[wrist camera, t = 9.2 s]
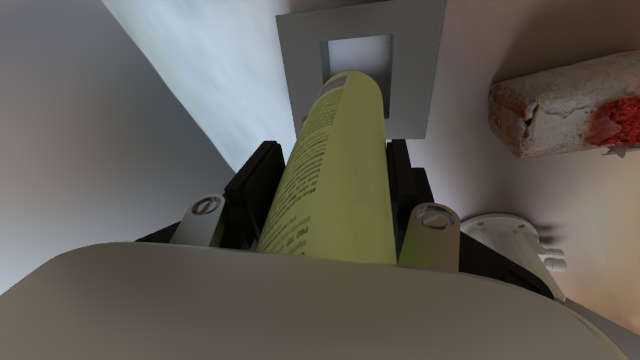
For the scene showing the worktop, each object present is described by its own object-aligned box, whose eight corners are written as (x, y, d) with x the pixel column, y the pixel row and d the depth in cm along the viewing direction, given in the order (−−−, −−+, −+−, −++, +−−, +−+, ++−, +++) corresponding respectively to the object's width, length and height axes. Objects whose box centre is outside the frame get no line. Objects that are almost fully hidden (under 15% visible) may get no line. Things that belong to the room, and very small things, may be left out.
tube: (383, 137, 20) (408, 600, 4) (324, 141, 21) (178, 511, 6) (382, 63, 17) (453, 759, 1) (313, 72, 18) (-84, 481, 3)
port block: (435, -5, 24) (448, -8, 19) (418, 121, 31) (425, 140, 27) (290, 14, 27) (273, 15, 22) (306, 124, 34) (296, 141, 30)
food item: (657, 33, 22) (811, 47, 14) (628, 113, 26) (736, 159, 19) (487, 76, 27) (533, 105, 19) (484, 140, 31) (522, 185, 23)
